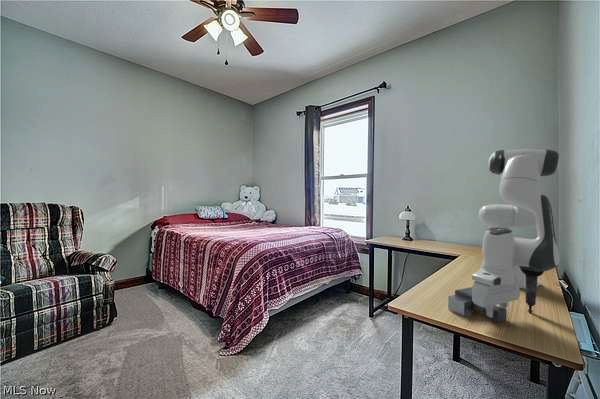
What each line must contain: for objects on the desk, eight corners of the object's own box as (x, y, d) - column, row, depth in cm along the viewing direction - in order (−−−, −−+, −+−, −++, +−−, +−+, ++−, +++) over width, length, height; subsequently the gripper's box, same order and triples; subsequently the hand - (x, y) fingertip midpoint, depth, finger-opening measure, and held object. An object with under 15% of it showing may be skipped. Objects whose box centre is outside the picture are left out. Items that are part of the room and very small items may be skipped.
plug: (463, 303, 97) (464, 292, 97) (506, 321, 83) (506, 308, 83) (456, 305, 95) (456, 293, 95) (498, 323, 82) (498, 310, 82)
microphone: (542, 312, 90) (544, 258, 90) (544, 319, 85) (546, 262, 85) (517, 306, 95) (519, 255, 94) (517, 312, 90) (519, 258, 89)
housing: (477, 302, 98) (478, 285, 98) (494, 309, 92) (494, 291, 92) (448, 309, 92) (448, 291, 92) (463, 316, 86) (464, 297, 86)
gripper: (505, 269, 91) (504, 306, 91) (468, 275, 83) (467, 315, 84) (526, 275, 85) (524, 314, 85) (488, 281, 77) (487, 324, 78)
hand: (496, 315), depth 84 cm, fingers closed on plug, 4 cm apart
